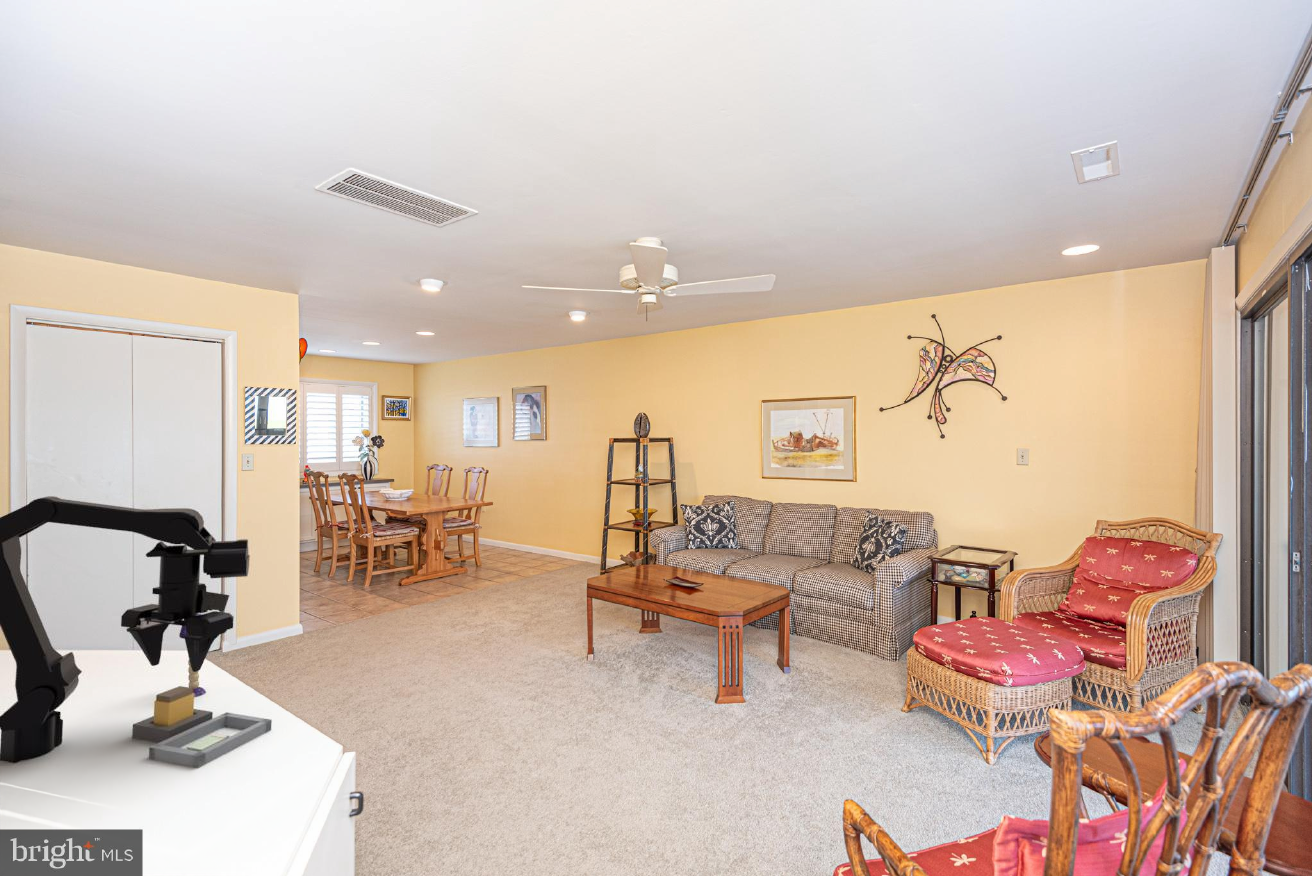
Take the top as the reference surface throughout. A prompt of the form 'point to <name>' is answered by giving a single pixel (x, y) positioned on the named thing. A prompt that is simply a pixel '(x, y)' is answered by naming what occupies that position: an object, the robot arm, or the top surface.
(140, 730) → the fuse holder
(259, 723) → the parts tray
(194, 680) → the toy lamp
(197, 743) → the block
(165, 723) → the block
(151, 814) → the top surface
